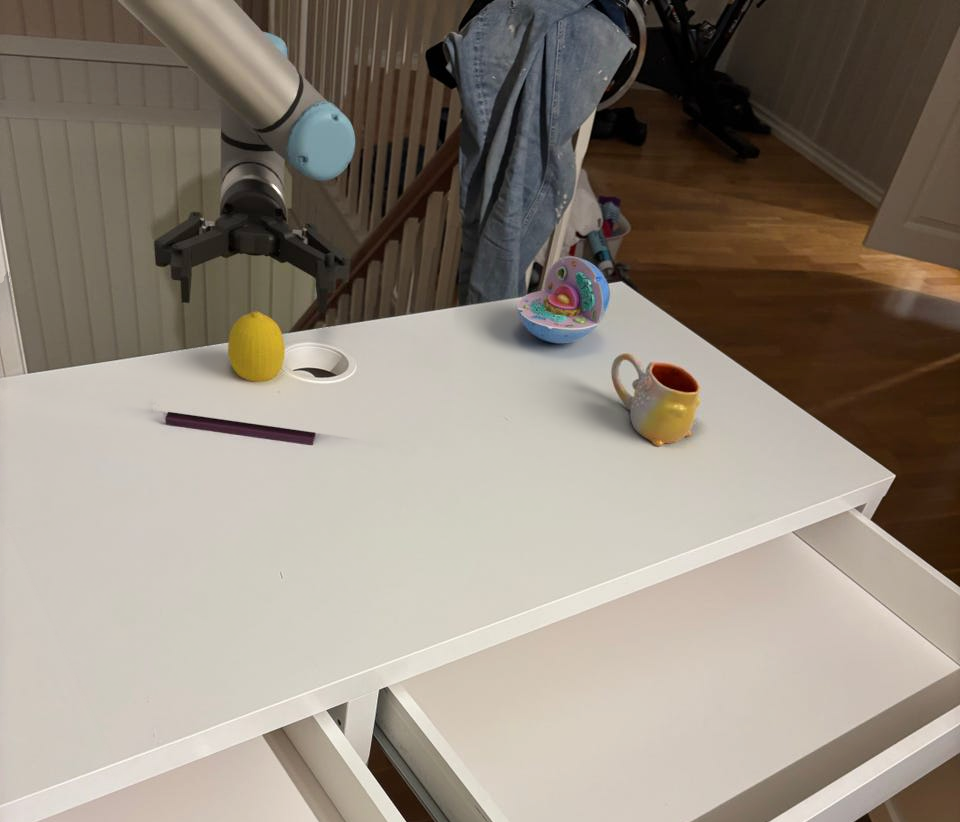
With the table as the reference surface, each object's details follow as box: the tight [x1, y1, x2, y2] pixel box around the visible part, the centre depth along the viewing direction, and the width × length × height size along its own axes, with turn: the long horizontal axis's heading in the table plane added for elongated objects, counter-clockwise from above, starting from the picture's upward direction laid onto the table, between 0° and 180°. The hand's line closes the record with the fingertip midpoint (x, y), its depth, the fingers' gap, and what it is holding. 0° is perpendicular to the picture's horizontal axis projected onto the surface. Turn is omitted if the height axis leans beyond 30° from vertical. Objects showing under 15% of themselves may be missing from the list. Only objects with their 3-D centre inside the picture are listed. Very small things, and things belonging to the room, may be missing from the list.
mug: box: [610, 352, 701, 447], centre depth 107 cm, size 12×7×7 cm, turn 35°
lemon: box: [227, 310, 286, 383], centre depth 98 cm, size 6×6×8 cm
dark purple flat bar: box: [164, 411, 316, 446], centre depth 95 cm, size 14×5×1 cm, turn 90°
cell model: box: [516, 255, 611, 344], centre depth 116 cm, size 10×12×10 cm
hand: (255, 295), depth 98 cm, fingers open, 13 cm apart
